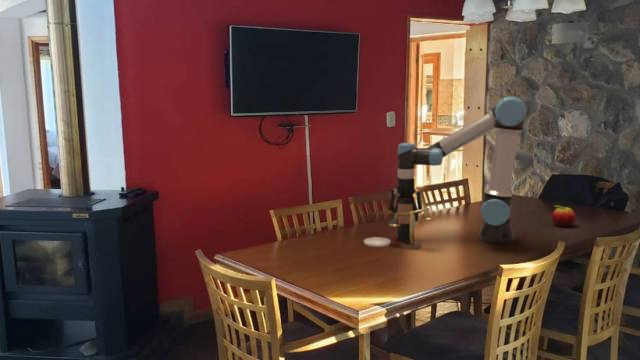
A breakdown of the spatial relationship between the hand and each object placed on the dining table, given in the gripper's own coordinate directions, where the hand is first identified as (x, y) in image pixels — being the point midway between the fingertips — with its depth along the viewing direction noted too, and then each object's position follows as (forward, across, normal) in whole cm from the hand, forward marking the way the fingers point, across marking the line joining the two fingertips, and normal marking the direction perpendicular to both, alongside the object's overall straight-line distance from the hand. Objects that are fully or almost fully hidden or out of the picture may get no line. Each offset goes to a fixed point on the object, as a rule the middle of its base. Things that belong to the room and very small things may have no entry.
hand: (405, 227), depth 258 cm
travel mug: (+6, 0, 0) cm, 6 cm away
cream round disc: (+6, +10, +10) cm, 15 cm away
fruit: (+6, -62, -57) cm, 84 cm away
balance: (+6, -6, +10) cm, 13 cm away
